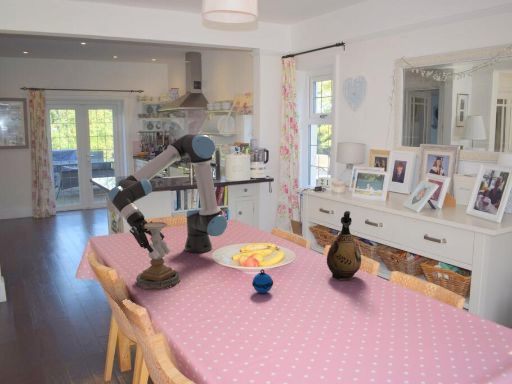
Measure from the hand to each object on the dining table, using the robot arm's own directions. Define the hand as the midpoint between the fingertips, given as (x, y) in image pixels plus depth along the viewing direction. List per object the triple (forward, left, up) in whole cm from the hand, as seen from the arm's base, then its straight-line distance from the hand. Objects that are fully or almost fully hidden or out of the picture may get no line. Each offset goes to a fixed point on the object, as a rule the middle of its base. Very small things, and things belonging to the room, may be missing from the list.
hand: (163, 254), depth 207 cm
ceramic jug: (-81, -2, -13) cm, 82 cm away
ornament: (-43, +15, -13) cm, 48 cm away
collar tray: (+3, -2, -13) cm, 14 cm away
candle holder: (+3, -2, -11) cm, 11 cm away
